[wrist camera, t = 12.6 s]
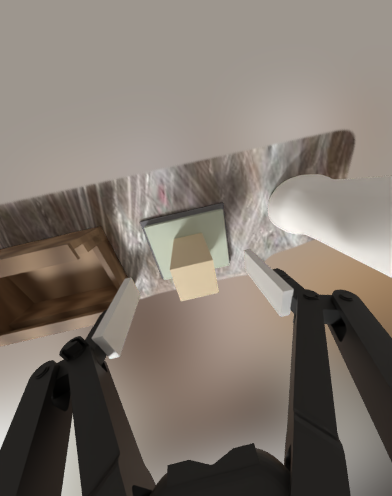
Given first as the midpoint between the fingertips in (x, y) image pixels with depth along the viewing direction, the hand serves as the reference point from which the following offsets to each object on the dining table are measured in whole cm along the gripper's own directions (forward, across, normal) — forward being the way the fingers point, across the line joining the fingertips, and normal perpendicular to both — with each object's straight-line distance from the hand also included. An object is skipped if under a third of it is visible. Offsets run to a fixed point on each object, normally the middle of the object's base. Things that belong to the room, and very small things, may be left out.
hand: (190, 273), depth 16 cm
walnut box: (+9, -21, 0) cm, 23 cm away
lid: (+8, +1, 0) cm, 8 cm away
